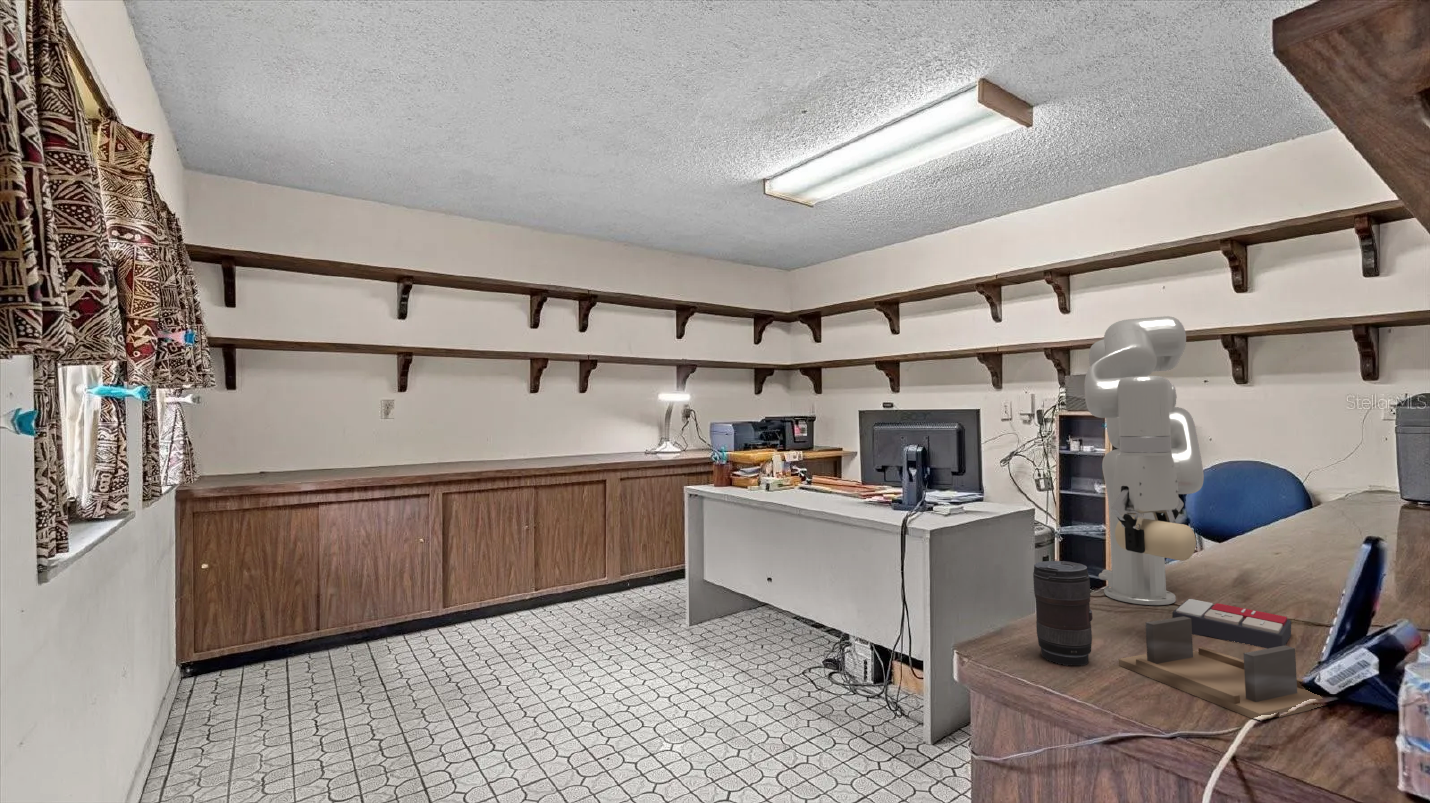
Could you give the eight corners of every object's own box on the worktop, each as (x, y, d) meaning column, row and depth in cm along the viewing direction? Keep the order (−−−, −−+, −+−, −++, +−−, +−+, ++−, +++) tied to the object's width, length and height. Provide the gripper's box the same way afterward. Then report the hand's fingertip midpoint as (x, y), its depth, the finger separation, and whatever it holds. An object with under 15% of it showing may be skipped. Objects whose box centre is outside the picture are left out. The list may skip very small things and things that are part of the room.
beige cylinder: (1127, 556, 116) (1109, 532, 115) (1145, 533, 117) (1128, 509, 116) (1182, 568, 106) (1163, 542, 105) (1201, 542, 108) (1183, 516, 107)
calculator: (1282, 630, 104) (1171, 607, 115) (1281, 657, 104) (1171, 631, 116) (1291, 615, 112) (1187, 595, 123) (1291, 640, 112) (1186, 617, 123)
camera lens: (1053, 645, 109) (1049, 557, 110) (1103, 659, 103) (1099, 565, 103) (1026, 656, 105) (1022, 564, 105) (1076, 671, 98) (1072, 573, 99)
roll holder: (1118, 665, 100) (1116, 620, 100) (1184, 653, 104) (1182, 609, 105) (1260, 721, 81) (1257, 665, 81) (1334, 704, 85) (1331, 651, 86)
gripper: (1161, 444, 118) (1166, 542, 118) (1088, 447, 113) (1092, 550, 113) (1202, 445, 111) (1207, 549, 111) (1126, 449, 106) (1131, 558, 106)
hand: (1149, 548), depth 112 cm, fingers closed on beige cylinder, 6 cm apart
